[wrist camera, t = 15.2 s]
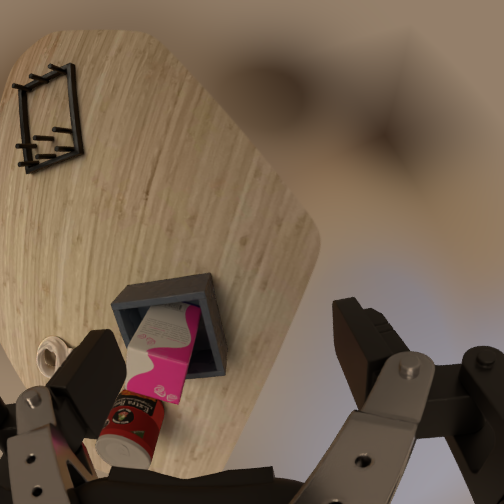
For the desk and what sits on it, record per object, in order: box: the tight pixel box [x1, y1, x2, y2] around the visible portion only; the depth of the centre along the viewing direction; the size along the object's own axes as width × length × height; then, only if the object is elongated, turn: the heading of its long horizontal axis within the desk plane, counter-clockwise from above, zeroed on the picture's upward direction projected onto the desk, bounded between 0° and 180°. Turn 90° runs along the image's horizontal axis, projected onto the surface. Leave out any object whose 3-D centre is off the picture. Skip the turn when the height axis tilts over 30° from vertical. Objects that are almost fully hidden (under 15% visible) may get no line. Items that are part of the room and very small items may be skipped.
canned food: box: [95, 389, 164, 470], centre depth 37 cm, size 8×8×11 cm
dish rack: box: [12, 63, 84, 174], centre depth 29 cm, size 12×9×4 cm
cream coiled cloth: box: [36, 336, 73, 378], centre depth 38 cm, size 8×7×5 cm
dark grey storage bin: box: [111, 273, 228, 379], centre depth 35 cm, size 11×11×6 cm
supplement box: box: [125, 301, 202, 404], centre depth 32 cm, size 6×6×12 cm
